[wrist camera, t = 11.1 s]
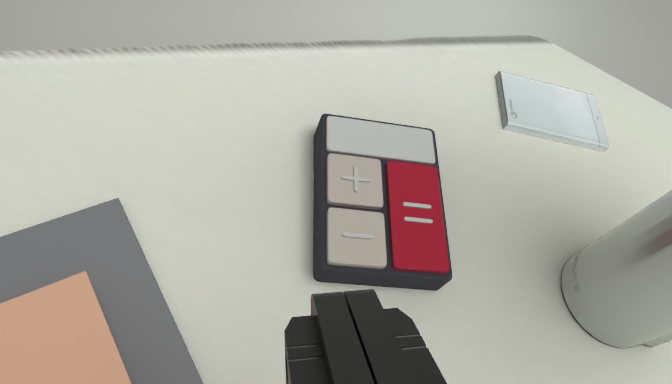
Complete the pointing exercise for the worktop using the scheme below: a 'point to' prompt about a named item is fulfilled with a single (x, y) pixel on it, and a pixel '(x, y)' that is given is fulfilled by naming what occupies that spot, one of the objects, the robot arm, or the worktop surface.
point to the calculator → (378, 205)
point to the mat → (103, 286)
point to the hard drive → (550, 112)
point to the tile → (58, 337)
